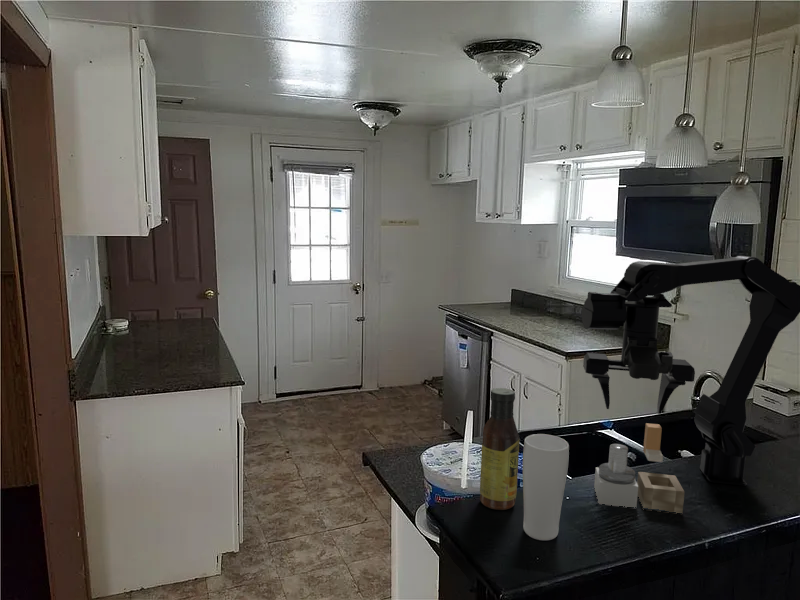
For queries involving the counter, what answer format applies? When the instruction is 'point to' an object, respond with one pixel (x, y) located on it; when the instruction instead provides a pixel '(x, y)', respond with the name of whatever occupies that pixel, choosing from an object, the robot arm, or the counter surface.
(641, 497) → the birch socket block
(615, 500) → the grey block
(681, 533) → the counter surface
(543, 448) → the drinking glass
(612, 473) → the grey flanged peg
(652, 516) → the counter surface
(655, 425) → the tan and grey l-block
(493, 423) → the sauce bottle
